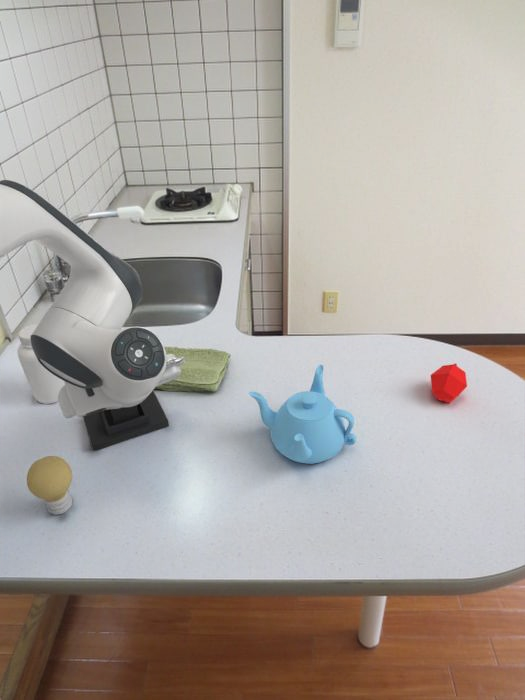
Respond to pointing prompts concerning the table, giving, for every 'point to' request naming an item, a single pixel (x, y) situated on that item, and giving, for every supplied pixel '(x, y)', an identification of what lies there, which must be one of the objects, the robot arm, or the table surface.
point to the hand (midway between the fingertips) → (118, 393)
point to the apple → (448, 382)
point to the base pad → (125, 424)
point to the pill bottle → (37, 370)
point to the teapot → (307, 424)
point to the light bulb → (51, 483)
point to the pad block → (124, 414)
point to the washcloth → (197, 369)
